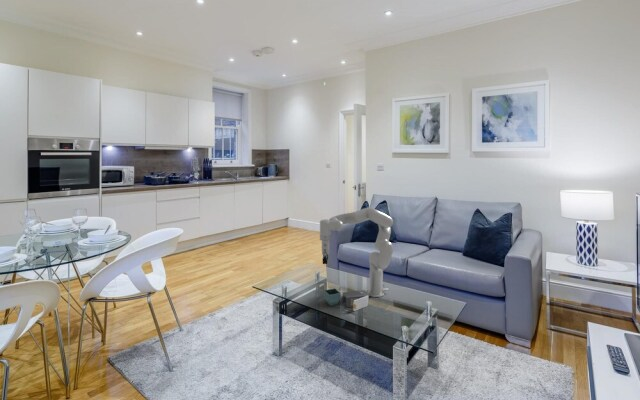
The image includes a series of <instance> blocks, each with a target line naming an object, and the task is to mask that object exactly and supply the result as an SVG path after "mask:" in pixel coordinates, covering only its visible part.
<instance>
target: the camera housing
mask: <svg viewBox="0 0 640 400" xmlns="http://www.w3.org/2000/svg"><path fill="white" fill-rule="evenodd" d="M365 296H369V295H368V294H367V291H365V290H364V289H362V290H354V291H353V290H351V291H343V292H342V297H341V303H342V304H343V305H344V306H345V308H353V301H354V300H357V299H360V298H362V297H365ZM369 297H370V296H369ZM369 301H370V300H369ZM369 301H368V306H369V304H370V303H369Z"/></svg>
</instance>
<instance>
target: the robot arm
mask: <svg viewBox="0 0 640 400" xmlns="http://www.w3.org/2000/svg"><path fill="white" fill-rule="evenodd" d="M369 220H370V221H371V222H373V223H374V224H377V226H378V233H377V237H376V240H375V243H374V248H375V249H376V250H377V251H372V252H371V253H370V254H369V258H368V262H369V281H368V282H369V283H368V285H369V286H368V288H369V289H368V290H367V291H366V293H367V294H368V295H369V297H373V298H380V297H384V295H385V292H389V288H388V287H387V288H386V287H383V282H384V281H383V277H384V276H383V275H384V270H386V269H387V268H388V266H389V264H390V262H391V260H392V259H391V258H392V255H393V252H394V246H393V243H392V242H390V238H391V234H392V228H391V227H392V226H393V225H394V220H393V218H392V217H391V216H389V215H387V214H386V213H384V212H382V211H379V210H378V209H375V208H373V207H371V206H370V207H364V208H363V209H359V210H355V211H353V212H352V211H351V212H347V213H342V214H337V215H335V216H332V217H330V218H329V219H321V220H320V221H319V240H320V241H321V255H322V264H323V265H327V264H328V259H329V255H330V247H331V246H330V241H331V240H332V231H335V232H336V231H337V232H339V231H341V230H342V229H343V227H344V225H346V224H347V225H349V224H350V225H358V224H360V223H363V222H366V221H369Z"/></svg>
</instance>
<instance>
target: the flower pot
mask: <svg viewBox="0 0 640 400" xmlns="http://www.w3.org/2000/svg"><path fill="white" fill-rule="evenodd" d="M323 293H324V294H323V295H324V299H325V301H326V302H327V304H328V305H329V306H330V307H331V306H336V305H338V304H339V302H340V299H341V292H340V291H339V290H338V289H337V288H330V289H325V290H323Z"/></svg>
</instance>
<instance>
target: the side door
mask: <svg viewBox="0 0 640 400" xmlns="http://www.w3.org/2000/svg"><path fill="white" fill-rule="evenodd" d="M368 301H370V296H365V297H362V298H360V299H357V300H354V301H353V307H352V308H353V309H352V311H353V312H356V311H358V310H361V309H364V308H366V307H368V306H369V305H368Z"/></svg>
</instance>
